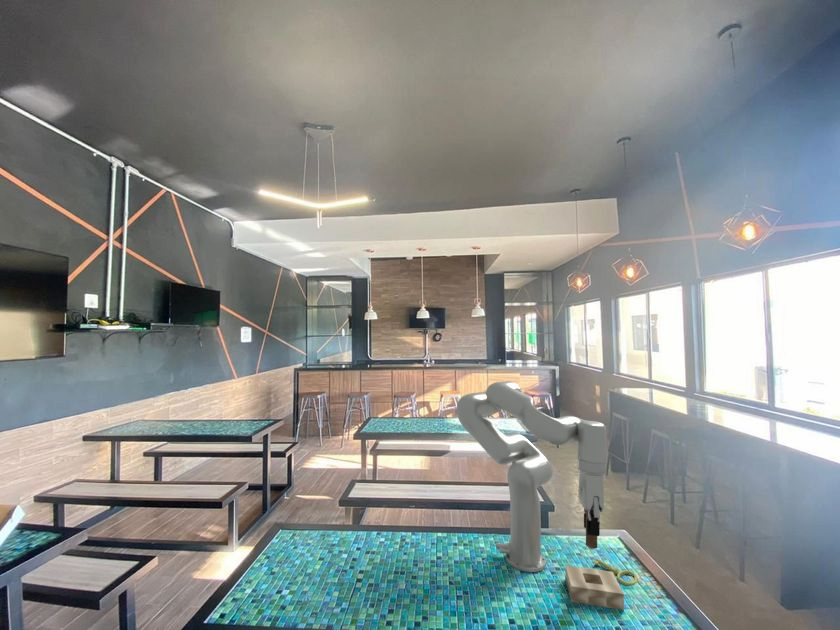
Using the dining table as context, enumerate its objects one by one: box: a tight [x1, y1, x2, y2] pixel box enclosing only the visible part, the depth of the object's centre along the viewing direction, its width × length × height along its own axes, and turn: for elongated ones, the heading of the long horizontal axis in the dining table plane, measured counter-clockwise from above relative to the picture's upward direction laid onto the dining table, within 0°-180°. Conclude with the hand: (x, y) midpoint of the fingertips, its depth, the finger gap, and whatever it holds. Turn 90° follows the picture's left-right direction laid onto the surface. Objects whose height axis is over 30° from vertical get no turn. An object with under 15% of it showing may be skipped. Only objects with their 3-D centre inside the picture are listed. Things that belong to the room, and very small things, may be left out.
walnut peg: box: [585, 507, 598, 549], centre depth 106 cm, size 3×3×10 cm
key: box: [592, 557, 639, 586], centre depth 113 cm, size 7×12×2 cm, turn 54°
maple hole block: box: [564, 564, 625, 611], centre depth 104 cm, size 13×10×4 cm
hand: (591, 531), depth 105 cm, fingers closed on walnut peg, 3 cm apart
